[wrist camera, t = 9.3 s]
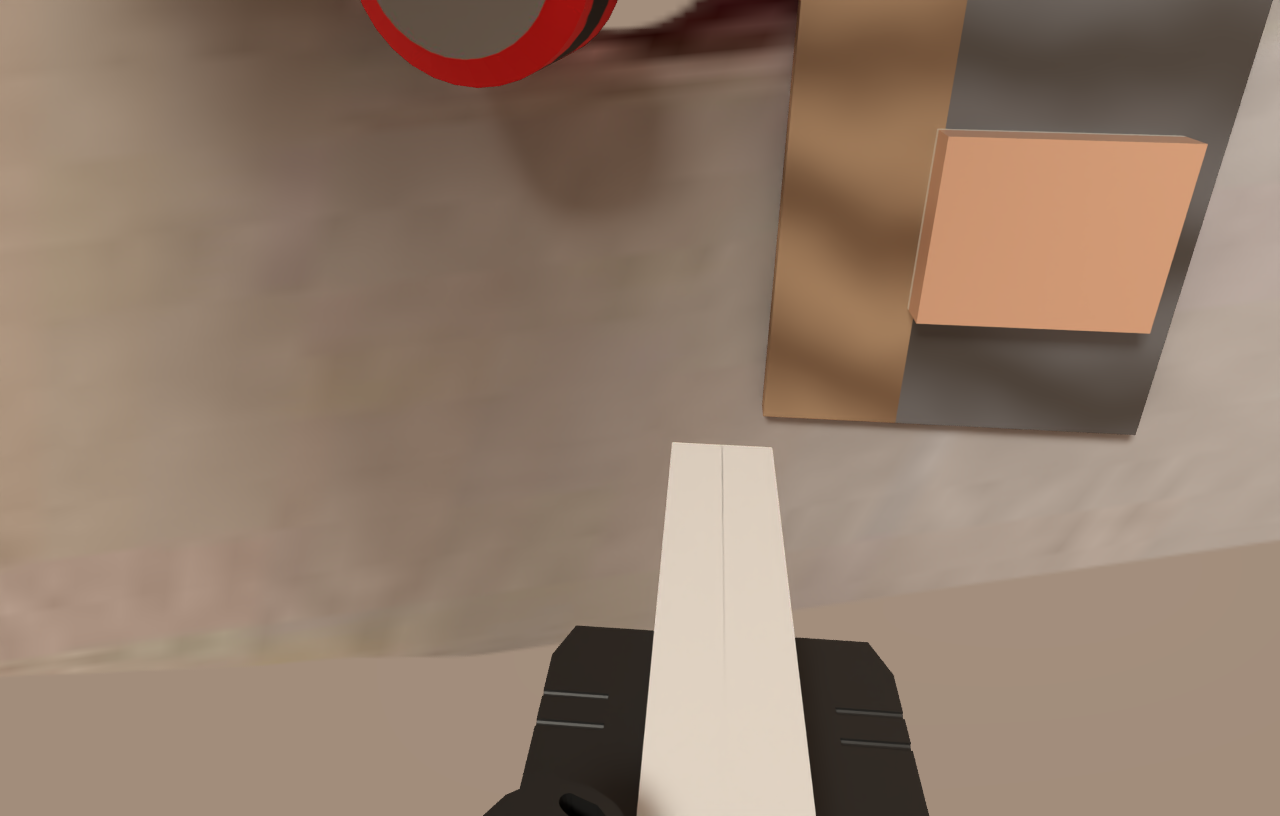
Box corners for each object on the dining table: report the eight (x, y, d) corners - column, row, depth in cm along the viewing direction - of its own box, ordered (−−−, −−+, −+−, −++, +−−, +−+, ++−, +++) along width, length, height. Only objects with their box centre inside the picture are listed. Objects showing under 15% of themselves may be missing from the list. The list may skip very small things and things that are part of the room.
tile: (948, 136, 34) (1207, 144, 34) (937, 128, 36) (1183, 135, 35) (916, 323, 38) (1149, 333, 37) (907, 307, 40) (1130, 317, 39)
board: (801, -34, 35) (804, -34, 34) (1263, -26, 34) (1281, -27, 33) (762, 405, 44) (763, 416, 43) (1124, 423, 43) (1135, 434, 42)
